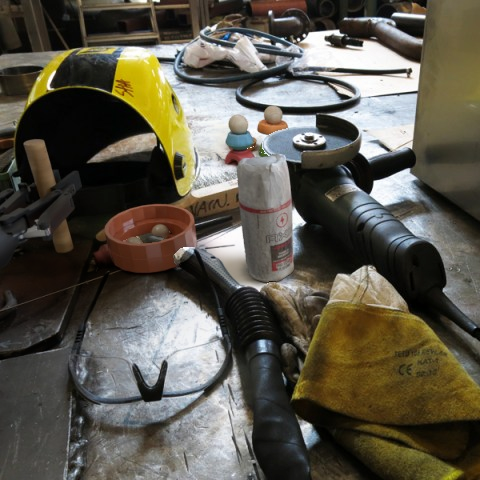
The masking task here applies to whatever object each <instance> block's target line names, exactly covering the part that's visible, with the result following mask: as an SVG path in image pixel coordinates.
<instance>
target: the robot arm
mask: <svg viewBox="0 0 480 480" xmlns="http://www.w3.org/2000/svg"><path fill="white" fill-rule="evenodd" d="M52 171H53V175H54V178H55V182H56V184H55V185H54V186H53V187H51V191H52V192H51V193H49V194H47V195H46V196H44V197H43V198H41V199H40V197H39V193H38V190H37V187H36V183H35V182H32V184H30V185H29V186H28V184H27V183H26V182H20V183H18V184H17V187H18V190H16V191H15V190H14V188H5V190H2V191H1V192H0V271H1V270H3V268H5V267H6V266H7V265H8V264H9V263H10V262H11V260H12V258H13V257H14V254H15V251H16V249H17V248H18V247H20V246H23V245H24V244H26V243H27V242H29V240H30V239H32V238H42V241H44V242H49V241H51V240H52V239H53V234H54V231H55V230H56V229H57V228H58V227H59V226H60V224H61V223H62V222H63V221H64V220H65V219H66V220H67V218H68V217H69V216H70V214H71V213H72V212H73V211H74V210H75V208H76V207H75V204H74V200H73V196H74V195H76V193H77V191H79V190H80V189H81V188H82V187H83V185H82V181H81V177H80V173H79V171H78V170H72V171H71V172H70V173H69V174H67V175H65V176H64V177H63V178H62V179H61V174H60V171H59V169H52ZM52 241H53V240H52Z"/></svg>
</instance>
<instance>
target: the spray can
mask: <svg viewBox="0 0 480 480" xmlns="http://www.w3.org/2000/svg"><path fill="white" fill-rule="evenodd" d="M236 177H237V188H238V190H237V191H238V205H239V215H240V222H241V223H240V225H241V232H242V240H243V247H244V254H245V255H244V257H245V263H246V272H247V274H248V276H249V277H251V278H252V279H253V280H255V281H259V282H263V283H270V282H269V281H276V282H279V281H281V280H284V279H285V278H286V277H288V276H290V275H291V274H293V272H294V270H295V263H294V229H293V228H294V227H293V226H294V225H293V224H294V223H293V203H292V200H293V199H292V191H291V180H290V171H289V168H288V163H287V159H286V155H285V154H282V153H279V152H277V154H272V155H271V156H269V157H261V156H255V157H253V158H244V159H242V160H241V161H240V162H239V164H238V163H237V167H236Z"/></svg>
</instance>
